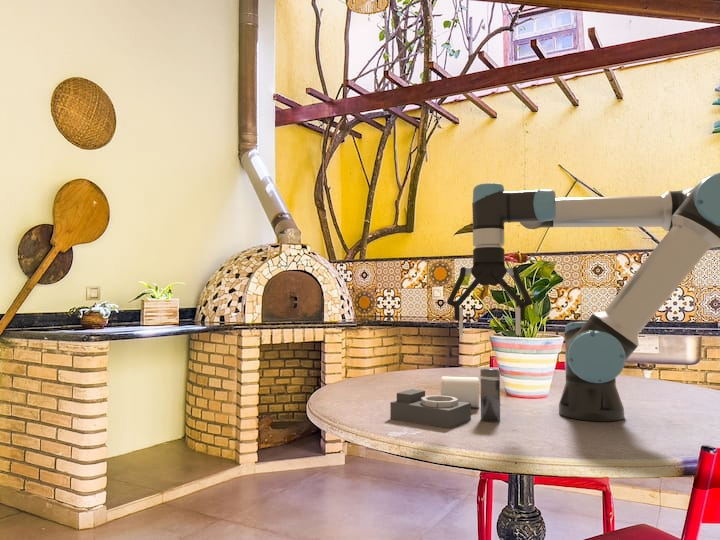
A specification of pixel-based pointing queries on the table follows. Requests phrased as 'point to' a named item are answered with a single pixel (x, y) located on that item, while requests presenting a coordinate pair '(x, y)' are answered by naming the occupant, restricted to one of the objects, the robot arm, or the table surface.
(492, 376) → the dark metallic upright block
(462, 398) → the cream upright block
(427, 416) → the camera body
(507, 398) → the table surface
